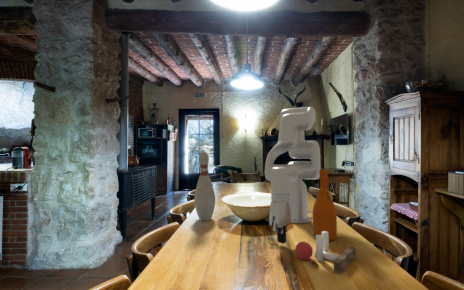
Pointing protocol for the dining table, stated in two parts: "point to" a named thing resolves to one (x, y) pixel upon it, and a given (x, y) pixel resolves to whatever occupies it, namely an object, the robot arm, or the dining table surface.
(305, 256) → the ball
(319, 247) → the pin
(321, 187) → the wine bottle
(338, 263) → the brown wooden block
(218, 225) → the dining table surface
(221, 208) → the dining table surface
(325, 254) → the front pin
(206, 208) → the bowling pin
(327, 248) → the pin
